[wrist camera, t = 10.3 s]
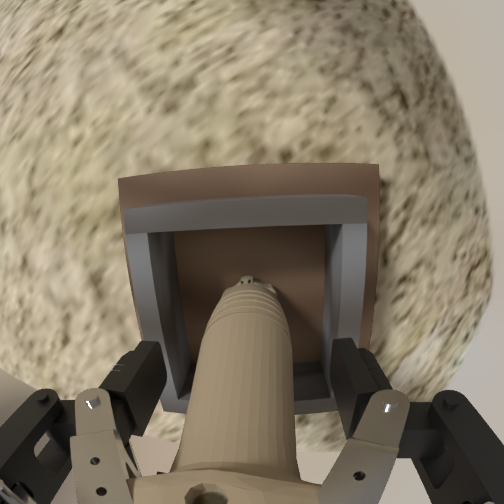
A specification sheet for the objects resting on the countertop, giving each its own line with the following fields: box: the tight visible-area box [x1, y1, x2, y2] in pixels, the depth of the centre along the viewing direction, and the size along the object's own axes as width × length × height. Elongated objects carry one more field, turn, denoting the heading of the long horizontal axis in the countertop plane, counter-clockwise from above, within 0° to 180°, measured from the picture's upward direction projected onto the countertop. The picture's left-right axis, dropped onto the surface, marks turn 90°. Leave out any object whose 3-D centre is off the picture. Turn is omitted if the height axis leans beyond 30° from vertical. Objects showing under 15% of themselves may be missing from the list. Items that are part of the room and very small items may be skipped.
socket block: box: [118, 163, 380, 415], centre depth 17 cm, size 16×16×6 cm
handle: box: [128, 275, 321, 504], centre depth 11 cm, size 5×6×15 cm
